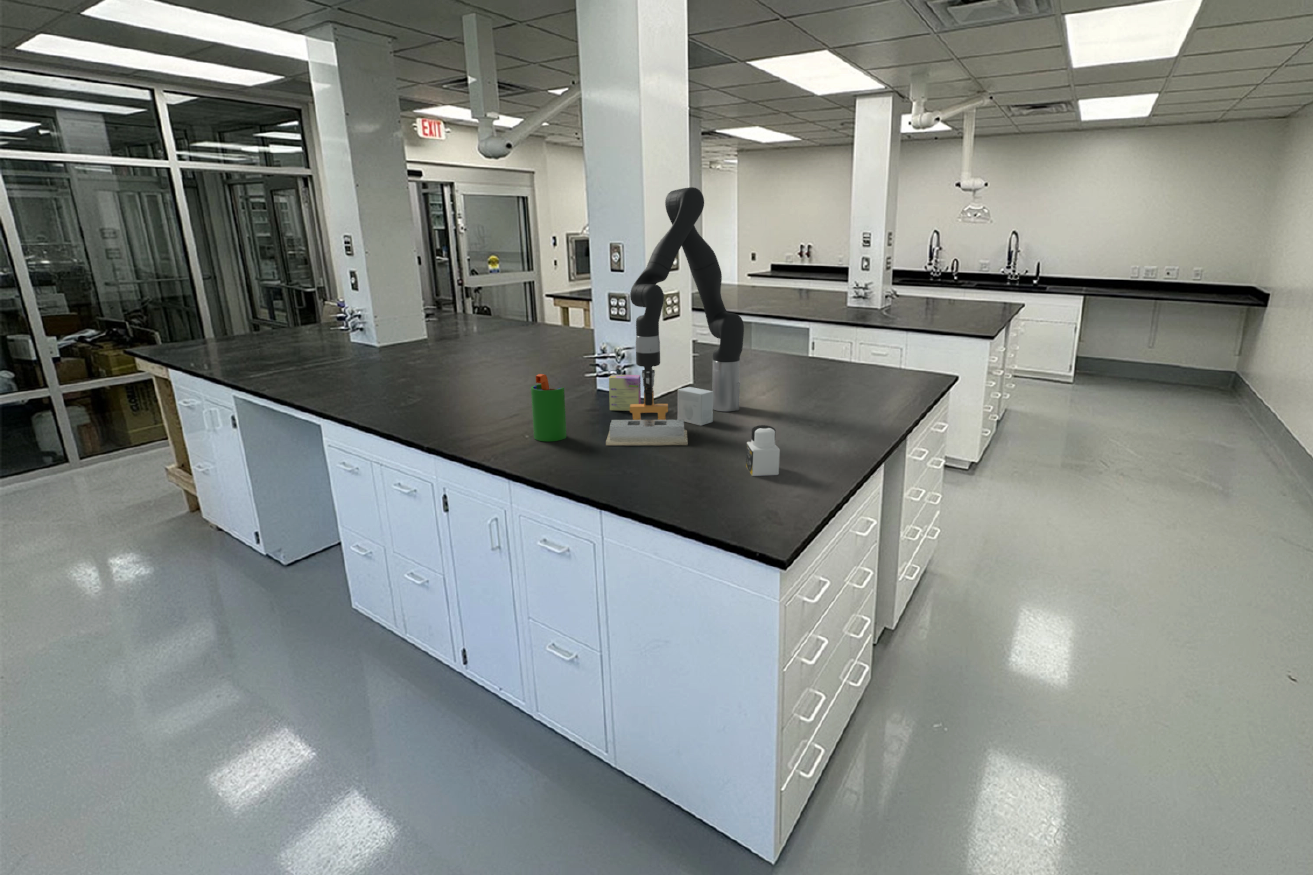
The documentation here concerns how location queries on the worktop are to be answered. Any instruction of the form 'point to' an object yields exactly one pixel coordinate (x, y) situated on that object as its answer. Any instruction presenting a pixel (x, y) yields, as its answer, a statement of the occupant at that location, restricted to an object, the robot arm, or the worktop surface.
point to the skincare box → (695, 405)
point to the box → (624, 391)
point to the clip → (649, 409)
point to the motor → (548, 411)
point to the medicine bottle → (762, 452)
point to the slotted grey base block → (647, 432)
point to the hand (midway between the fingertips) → (649, 403)
